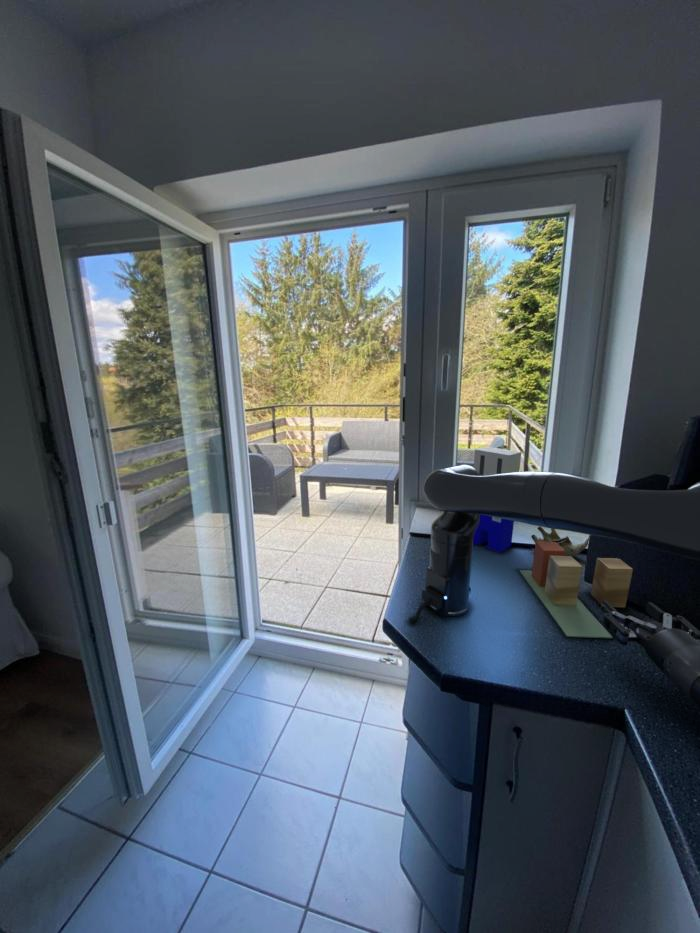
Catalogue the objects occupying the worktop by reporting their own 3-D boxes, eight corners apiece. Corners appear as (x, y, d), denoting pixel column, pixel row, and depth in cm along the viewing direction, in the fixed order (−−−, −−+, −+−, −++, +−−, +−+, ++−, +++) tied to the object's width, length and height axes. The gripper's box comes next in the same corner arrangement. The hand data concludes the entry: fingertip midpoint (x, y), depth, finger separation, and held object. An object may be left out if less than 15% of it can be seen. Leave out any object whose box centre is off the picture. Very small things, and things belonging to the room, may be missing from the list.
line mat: (612, 638, 76) (612, 637, 76) (566, 636, 76) (566, 635, 76) (553, 572, 101) (553, 571, 101) (519, 571, 101) (519, 570, 101)
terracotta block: (560, 587, 93) (565, 550, 91) (539, 586, 93) (544, 550, 91) (550, 576, 98) (555, 541, 96) (531, 576, 98) (535, 541, 96)
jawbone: (596, 553, 100) (576, 519, 102) (541, 568, 110) (524, 537, 111) (600, 543, 107) (581, 511, 109) (548, 557, 117) (532, 528, 118)
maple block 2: (625, 608, 85) (633, 569, 83) (602, 607, 86) (609, 568, 83) (611, 595, 90) (618, 558, 88) (590, 595, 90) (596, 557, 88)
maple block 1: (576, 605, 86) (582, 566, 83) (553, 605, 86) (559, 566, 84) (565, 593, 91) (571, 556, 88) (544, 592, 91) (549, 555, 89)
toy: (438, 529, 128) (443, 444, 121) (450, 524, 132) (455, 441, 125) (539, 568, 103) (553, 462, 95) (550, 560, 107) (564, 458, 100)
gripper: (743, 648, 58) (666, 590, 74) (648, 644, 59) (591, 587, 75) (732, 687, 60) (658, 622, 76) (639, 683, 61) (586, 620, 77)
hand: (625, 605), depth 76 cm, fingers open, 8 cm apart
